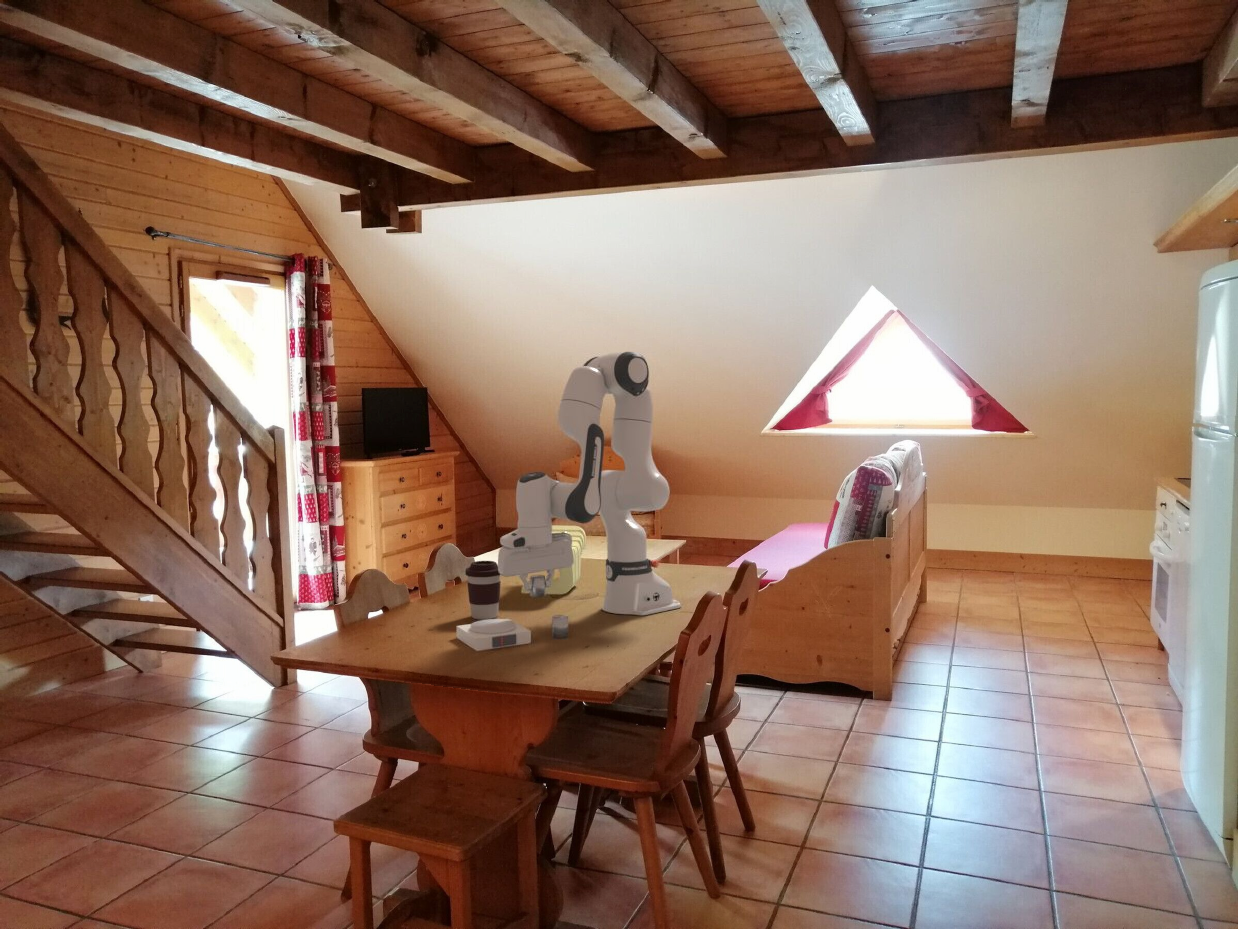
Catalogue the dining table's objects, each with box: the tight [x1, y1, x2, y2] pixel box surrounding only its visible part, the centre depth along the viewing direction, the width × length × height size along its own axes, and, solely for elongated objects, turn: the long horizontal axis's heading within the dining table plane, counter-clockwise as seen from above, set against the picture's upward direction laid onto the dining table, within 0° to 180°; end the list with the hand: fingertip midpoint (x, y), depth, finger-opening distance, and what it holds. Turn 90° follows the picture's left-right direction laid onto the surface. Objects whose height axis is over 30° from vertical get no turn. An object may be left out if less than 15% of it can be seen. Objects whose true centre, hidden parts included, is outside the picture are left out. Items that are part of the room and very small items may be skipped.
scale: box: [456, 618, 532, 652], centre depth 234 cm, size 14×15×4 cm
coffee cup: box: [465, 560, 502, 621], centre depth 258 cm, size 10×10×15 cm
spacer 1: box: [529, 574, 547, 598], centre depth 245 cm, size 4×4×5 cm
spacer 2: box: [551, 614, 569, 640], centre depth 237 cm, size 4×4×5 cm
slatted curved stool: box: [521, 524, 587, 595], centre depth 293 cm, size 30×16×18 cm, turn 170°
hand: (537, 588), depth 245 cm, fingers closed on spacer 1, 4 cm apart
